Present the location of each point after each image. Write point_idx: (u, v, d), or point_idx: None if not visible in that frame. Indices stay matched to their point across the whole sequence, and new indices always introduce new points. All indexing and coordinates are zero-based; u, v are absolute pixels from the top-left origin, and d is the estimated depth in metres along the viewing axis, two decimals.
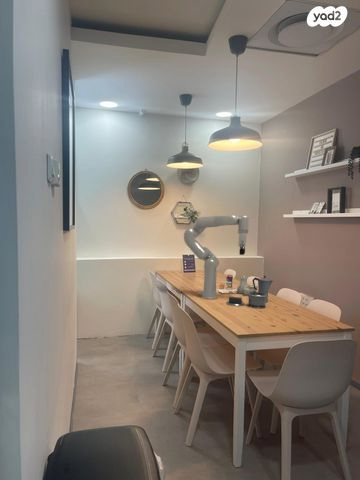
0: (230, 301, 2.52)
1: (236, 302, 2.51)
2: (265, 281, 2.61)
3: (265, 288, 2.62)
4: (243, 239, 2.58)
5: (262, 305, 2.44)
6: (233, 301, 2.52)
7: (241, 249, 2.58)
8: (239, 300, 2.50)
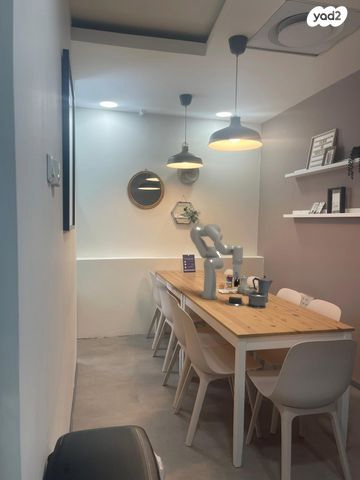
0: (230, 301, 2.52)
1: (236, 302, 2.51)
2: (265, 281, 2.61)
3: (265, 288, 2.62)
4: (237, 270, 2.47)
5: (262, 305, 2.44)
6: (233, 301, 2.52)
7: (235, 281, 2.47)
8: (239, 300, 2.50)
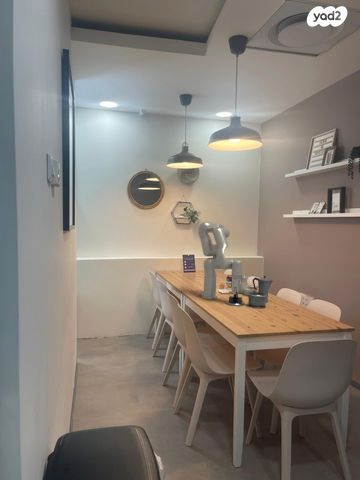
0: (230, 301, 2.52)
1: None
2: (265, 281, 2.61)
3: (265, 288, 2.62)
4: (236, 285, 2.48)
5: (262, 305, 2.44)
6: None
7: (234, 297, 2.50)
8: (239, 300, 2.50)
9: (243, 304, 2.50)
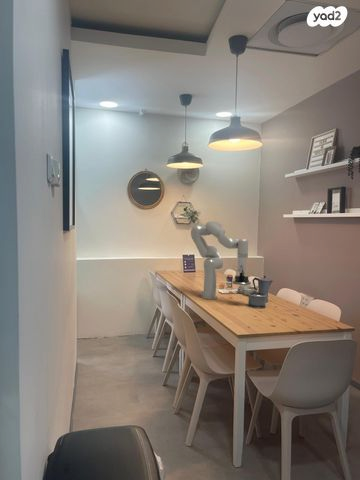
0: (236, 280, 2.50)
1: None
2: (265, 281, 2.61)
3: (265, 288, 2.62)
4: (242, 264, 2.46)
5: (262, 305, 2.44)
6: None
7: (241, 276, 2.48)
8: (245, 278, 2.48)
9: (249, 283, 2.47)
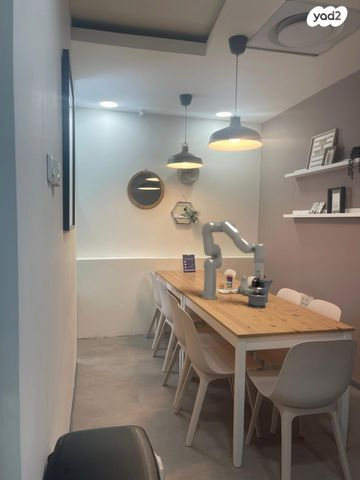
0: (253, 285, 2.47)
1: None
2: (265, 281, 2.61)
3: None
4: (259, 269, 2.43)
5: (262, 305, 2.44)
6: None
7: (257, 281, 2.45)
8: (262, 284, 2.45)
9: (266, 288, 2.45)
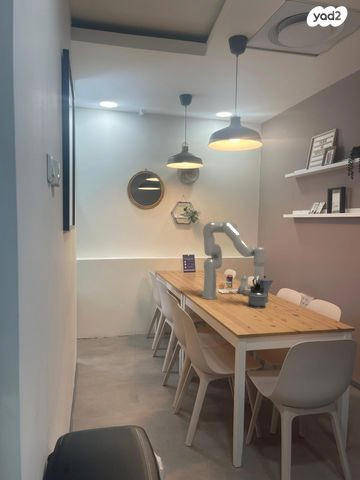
0: (252, 290, 2.48)
1: (258, 291, 2.46)
2: (265, 281, 2.61)
3: (265, 288, 2.62)
4: (259, 273, 2.43)
5: (262, 305, 2.44)
6: (255, 290, 2.47)
7: (257, 284, 2.44)
8: (261, 289, 2.46)
9: (265, 294, 2.45)
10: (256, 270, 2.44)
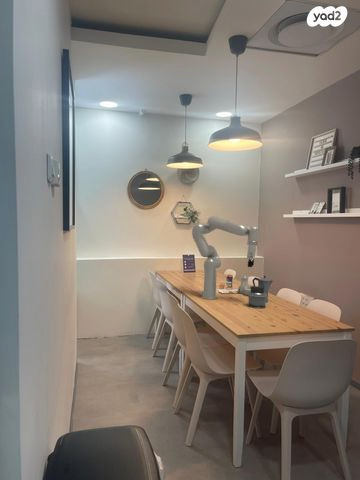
0: (252, 290, 2.48)
1: (258, 291, 2.46)
2: (265, 281, 2.61)
3: (265, 288, 2.62)
4: (252, 251, 2.50)
5: (262, 305, 2.44)
6: (255, 290, 2.47)
7: (249, 261, 2.50)
8: (261, 289, 2.46)
9: (265, 294, 2.45)
10: (249, 248, 2.51)
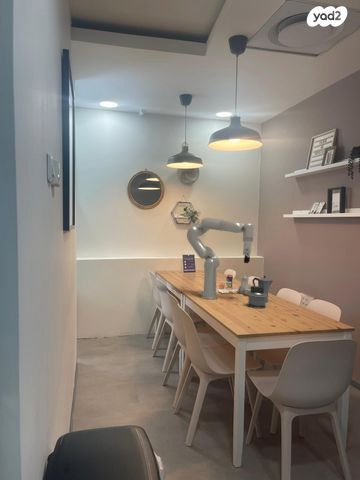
0: (252, 290, 2.47)
1: (258, 291, 2.46)
2: (265, 281, 2.61)
3: (265, 288, 2.62)
4: (248, 247, 2.55)
5: (262, 305, 2.44)
6: (255, 290, 2.47)
7: (246, 257, 2.55)
8: (261, 289, 2.46)
9: (265, 294, 2.45)
10: (245, 245, 2.55)
